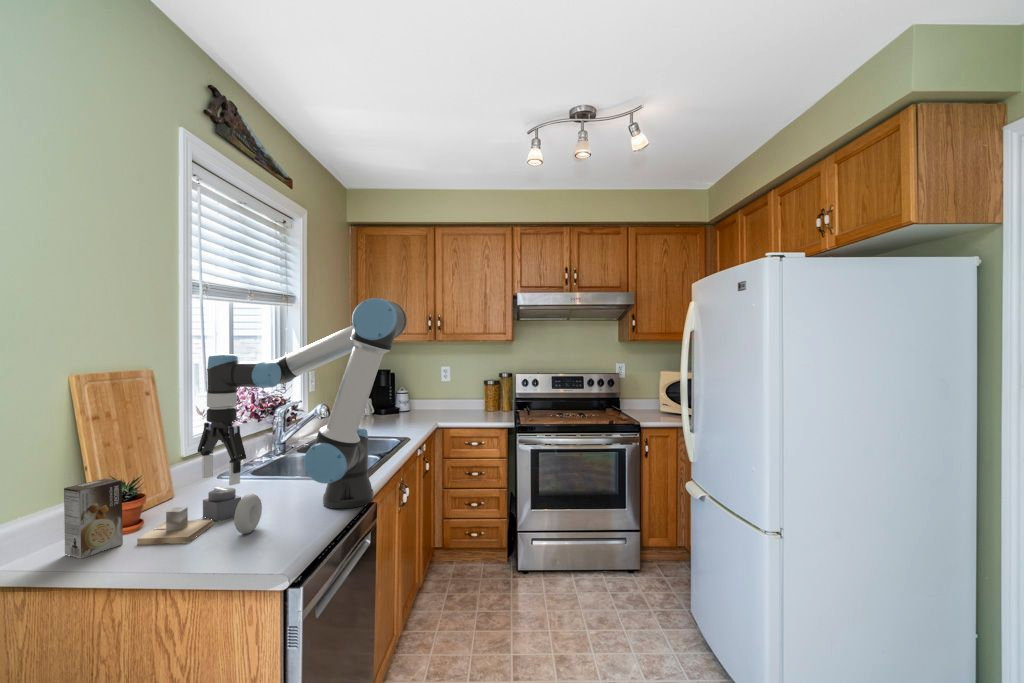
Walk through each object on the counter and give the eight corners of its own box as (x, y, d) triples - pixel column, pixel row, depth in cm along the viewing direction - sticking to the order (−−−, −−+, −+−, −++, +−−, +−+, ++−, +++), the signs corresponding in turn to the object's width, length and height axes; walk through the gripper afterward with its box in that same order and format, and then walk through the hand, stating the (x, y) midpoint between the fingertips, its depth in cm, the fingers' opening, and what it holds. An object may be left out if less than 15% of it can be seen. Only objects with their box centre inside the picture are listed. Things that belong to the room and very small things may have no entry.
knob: (241, 514, 144) (241, 487, 144) (216, 521, 138) (216, 493, 138) (227, 510, 148) (227, 484, 148) (202, 517, 142) (202, 490, 142)
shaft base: (212, 525, 135) (212, 501, 135) (188, 542, 123) (188, 516, 123) (166, 526, 134) (166, 502, 134) (137, 544, 122) (137, 518, 122)
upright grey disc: (244, 540, 125) (244, 500, 125) (231, 540, 125) (231, 500, 125) (264, 525, 135) (264, 488, 135) (251, 525, 135) (251, 488, 135)
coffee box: (106, 541, 125) (106, 477, 125) (123, 544, 122) (123, 479, 122) (63, 555, 116) (63, 487, 116) (80, 559, 114) (80, 490, 114)
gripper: (260, 409, 140) (259, 484, 140) (210, 402, 152) (209, 471, 152) (234, 412, 134) (233, 490, 133) (184, 405, 146) (183, 477, 146)
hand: (220, 480), depth 143 cm, fingers open, 13 cm apart
